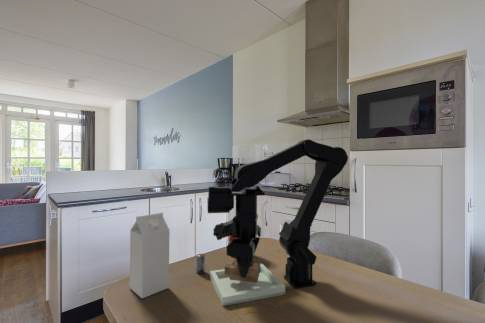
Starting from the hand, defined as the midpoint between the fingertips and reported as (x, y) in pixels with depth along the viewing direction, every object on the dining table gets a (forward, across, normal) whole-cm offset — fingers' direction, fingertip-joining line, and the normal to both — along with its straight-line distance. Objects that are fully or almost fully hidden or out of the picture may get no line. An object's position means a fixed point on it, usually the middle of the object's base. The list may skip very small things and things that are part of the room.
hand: (245, 271), depth 64 cm
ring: (+1, 0, 0) cm, 1 cm away
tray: (+4, 0, 0) cm, 4 cm away
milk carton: (+4, +6, -24) cm, 25 cm away
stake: (+4, -5, -14) cm, 16 cm away
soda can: (+4, -21, -6) cm, 22 cm away
